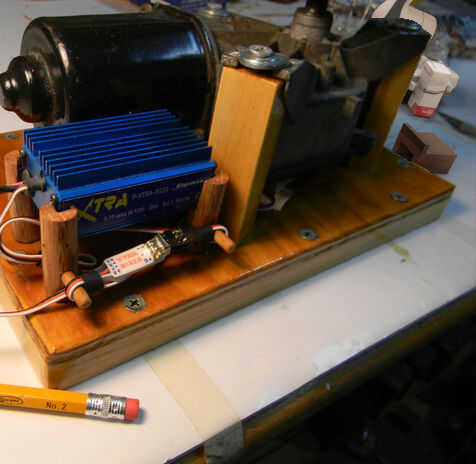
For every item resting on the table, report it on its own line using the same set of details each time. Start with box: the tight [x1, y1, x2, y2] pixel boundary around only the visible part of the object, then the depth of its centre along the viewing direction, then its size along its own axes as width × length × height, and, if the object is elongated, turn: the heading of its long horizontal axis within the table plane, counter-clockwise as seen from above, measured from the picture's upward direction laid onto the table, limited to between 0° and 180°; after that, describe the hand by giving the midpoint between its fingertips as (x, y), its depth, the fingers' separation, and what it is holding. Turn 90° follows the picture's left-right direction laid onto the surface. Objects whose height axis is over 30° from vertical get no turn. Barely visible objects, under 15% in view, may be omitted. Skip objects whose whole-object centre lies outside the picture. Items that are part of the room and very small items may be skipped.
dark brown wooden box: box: [392, 122, 458, 175], centre depth 102 cm, size 8×10×6 cm
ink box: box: [407, 61, 452, 119], centre depth 123 cm, size 9×5×12 cm, turn 168°
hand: (432, 88), depth 122 cm, fingers open, 8 cm apart
